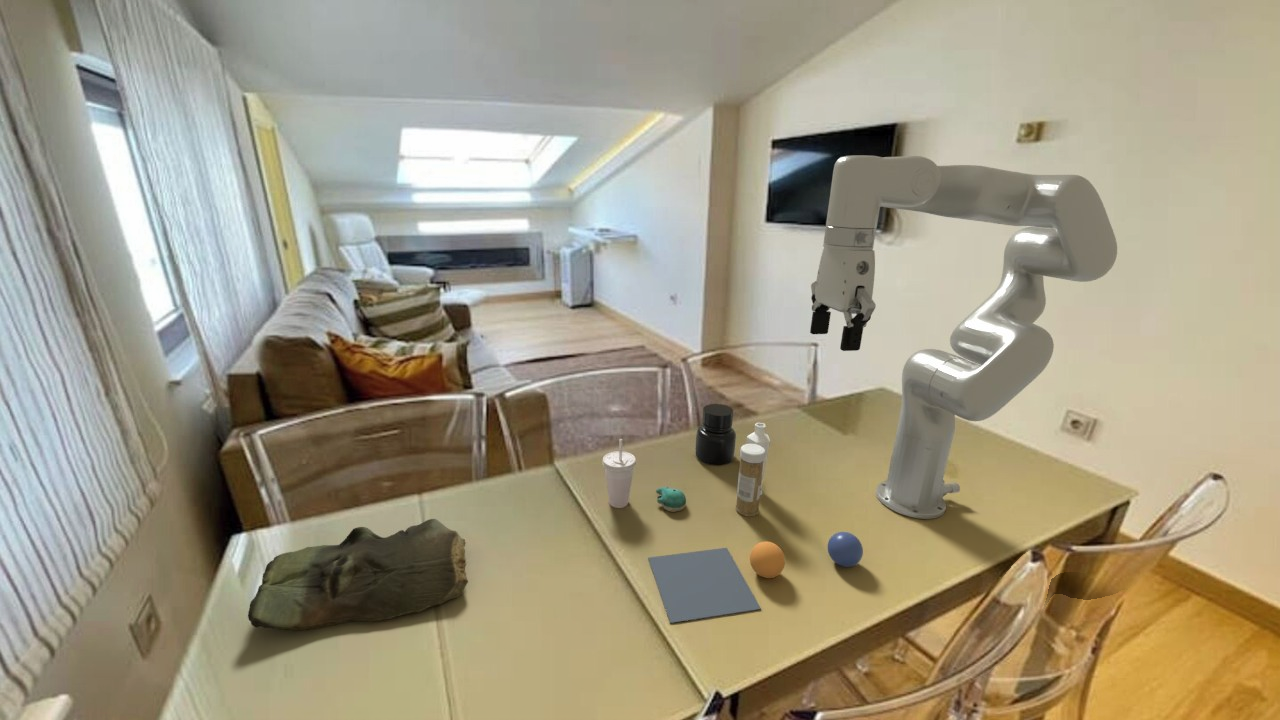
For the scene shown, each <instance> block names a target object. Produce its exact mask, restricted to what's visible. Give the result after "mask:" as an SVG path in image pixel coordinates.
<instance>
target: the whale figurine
mask: <svg viewBox="0 0 1280 720" xmlns="http://www.w3.org/2000/svg"><path fill="white" fill-rule="evenodd" d="M655 492H656V494H657V495H659V496H661V497H659V498H658V497H657V499H656V502H657V503H658V504H659V505H662V507H663V509H664V510H666V511H668V512H671V513H672V512H674V513H675V512H680V511H682V510H683V509H685V507H686V504H687V497H686V495H685V493H684V492H683V491H682V490H680V489H676V488H669V487H668V486H663V487H659V488H657V489H656V490H655Z"/></svg>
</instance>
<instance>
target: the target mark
mask: <svg viewBox="0 0 1280 720" xmlns="http://www.w3.org/2000/svg"><path fill="white" fill-rule="evenodd" d="M647 559H648V562H649V566H650V569H651V571H652V574H653V577H654V580H655V582H656V586H657V588H658V591H659V595H660V599H661V601H662V604H663V606H664V609H666V610H665V613H666V612H667V613H666V615H668V616H667V619H668V618H669V619H668V622H669V621H670V622H669V624H670V623H672V624H676V623H675V622H678V623H682V622H681V621H685V622H688V621H687V620H691V621H696V620H695V619H698V620H704V619H708V618H709V617H711V618H716V617H723V615H724V616H729V615H735V614H741V613H742V614H743V613H749V612H754V611H756V612H757V611H761V610H762V607H761V606H760V604H759V603H758V601H757V599H756V597H755V595H754V593H753V592H752V589H751V588H750V587H749V584H748V583H747V581H746V579H745V577H744V576H743V574H742V572H741V570H740V568H739V567H738V565H737V564H736V561H735V560H734V558H733V556H732V554H731V553H730V551H729V549H728V547H721V548H713V549H706V550H698V551H697V550H696V551H689V552H682V553H681V552H680V553H675V554H673V553H672V554H666V555H665V554H664V555H658V556H649V557H647ZM703 618H704V619H703ZM709 619H710V618H709Z"/></svg>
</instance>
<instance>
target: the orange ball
mask: <svg viewBox="0 0 1280 720" xmlns="http://www.w3.org/2000/svg"><path fill="white" fill-rule="evenodd" d="M785 557H786V556H785V554H784V552H783V550H782V549H781V548H780V547H779V546H778V545H777V544H775V543H774V542H771V541H761V542H758V543H756V544H755V545H754V546H753V548H752V549H751V551H750V553H749V564H750V566H751V568H752V570H753V571H754V572H755V573H756V575H758V576H760V577H762V578H764V579H774V578H775V577H777V576H779V575H780V574H781V573H782V572H783V571H784V568H785V563H786V559H785Z"/></svg>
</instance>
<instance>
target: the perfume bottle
mask: <svg viewBox="0 0 1280 720" xmlns="http://www.w3.org/2000/svg"><path fill="white" fill-rule="evenodd" d="M766 427H767V426H766V423H764V422H756V423H754V432H752V433H749V434H748V435H747V436H746V444H756V445H759V446H761V447H763V448H764V449H765V460H764V462H763V469H762V481H761V492H760V496H762V495H763V487H762V485H763V482H764V481H763V480H764V476H765V469H766V465H767V459H768V455H769V450H770V445H771V444H770V443H771V439H770V437H769V435H768V434H767V433H765V431H766V430H765V429H766Z"/></svg>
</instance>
